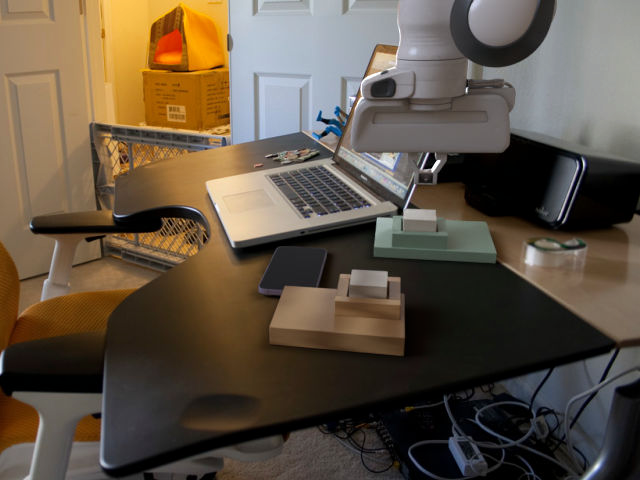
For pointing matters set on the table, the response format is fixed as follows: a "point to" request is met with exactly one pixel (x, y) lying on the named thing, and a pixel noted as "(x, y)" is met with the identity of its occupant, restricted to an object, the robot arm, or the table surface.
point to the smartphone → (293, 269)
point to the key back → (419, 220)
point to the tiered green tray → (435, 241)
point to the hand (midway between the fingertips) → (425, 183)
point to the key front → (368, 284)
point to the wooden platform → (340, 319)
